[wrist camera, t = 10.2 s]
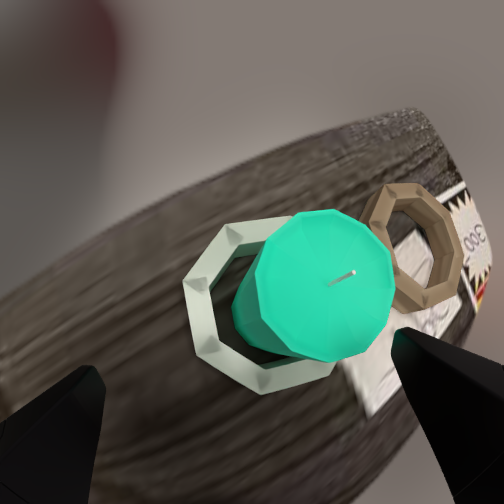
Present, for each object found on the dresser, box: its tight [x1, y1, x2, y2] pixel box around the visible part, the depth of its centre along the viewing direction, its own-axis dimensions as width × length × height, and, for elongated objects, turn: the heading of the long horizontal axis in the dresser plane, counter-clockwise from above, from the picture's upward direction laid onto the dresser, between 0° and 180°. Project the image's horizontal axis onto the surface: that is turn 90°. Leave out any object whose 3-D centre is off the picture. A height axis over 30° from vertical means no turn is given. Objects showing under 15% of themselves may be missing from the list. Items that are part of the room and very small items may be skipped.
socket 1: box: [183, 216, 337, 395], centre depth 18 cm, size 11×11×3 cm
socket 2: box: [359, 183, 464, 314], centre depth 22 cm, size 11×11×3 cm
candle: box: [231, 209, 395, 363], centre depth 14 cm, size 6×6×12 cm
